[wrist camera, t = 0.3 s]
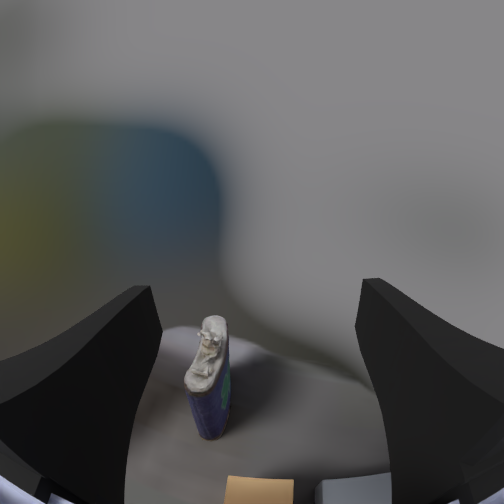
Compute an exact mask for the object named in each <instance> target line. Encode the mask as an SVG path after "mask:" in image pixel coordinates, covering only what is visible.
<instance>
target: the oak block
mask: <svg viewBox="0 0 504 504" xmlns="http://www.w3.org/2000/svg"><path fill="white" fill-rule="evenodd" d="M293 485H294V480H289V479H261V478H247V477H237V476H228V480H227V487H226V494H225V500H224V504H293Z"/></svg>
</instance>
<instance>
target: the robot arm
mask: <svg viewBox="0 0 504 504" xmlns="http://www.w3.org/2000/svg"><path fill="white" fill-rule="evenodd" d="M355 330H356V334H357V339H358V343H359V347H360V351H361V354H362V357H363V359H364V362H365V365H366V368H367V370H368V373H369V376H370V378H371V381H372V384H373V387H374V390H375V392H376V395H377V398H378V401H379V404H380V408H381V411H382V416H383V421H384V426H385V431H386V437H387V444H388V451H389V459H390V470H391V486H392V504H504V349H502V348H500V347H497V346H495V345H492V344H490V343H488V342H485V341H483V340H481V339H478V338H476V337H474V336H472V335H470V334H468V333H466V332H464V331H462V330H460V329H459V328H457V327H455V326H453V325H451V324H449V323H448V322H446V321H445V320H443V319H441V318H440V317H438V316H437V315H435V314H433V313H432V312H430V311H429V310H427V309H425V308H424V307H423V306H421V305H420V304H418V303H417V302H415V301H414V300H412V299H411V298H409V297H408V296H407V295H405V294H404V293H402V292H401V291H399V290H398V289H396V288H395V287H393V286H392V285H390V284H389V283H387V282H386V281H384V280H382V279H380V278H371V279H363V282H362V288H361V295H360V301H359V307H358V313H357V318H356V323H355ZM162 333H163V331H162V327H161V324H160V320H159V317H158V313H157V310H156V306H155V303H154V299H153V295H152V291H151V287H150V286H133V287H131V288H129V289H128V290H126V291H124V292H123V293H122V294H120V295H118V296H117V297H115V298H114V299H113V300H111V301H110V302H108V303H107V304H105V305H104V306H102V307H101V308H100V309H98V310H97V311H95V312H94V313H92V314H91V315H89V316H88V317H86V318H85V319H83V320H82V321H80V322H79V323H77V324H76V325H74V326H73V327H71V328H70V329H68V330H66V331H65V332H63V333H61V334H60V335H58V336H56V337H54V338H52V339H51V340H49V341H47V342H45V343H43V344H41V345H39V346H37V347H35V348H32V349H30V350H28V351H26V352H23V353H21V354H19V355H16V356H14V357H11V358H8V359H5V360H2V361H0V504H124V490H125V474H126V464H127V456H128V449H129V443H130V437H131V432H132V428H133V423H134V419H135V414H136V411H137V408H138V405H139V402H140V399H141V397H142V394H143V391H144V389H145V386H146V383H147V381H148V378H149V376H150V373H151V370H152V368H153V365H154V363H155V360H156V357H157V354H158V350H159V346H160V342H161V337H162Z"/></svg>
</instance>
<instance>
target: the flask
mask: <svg viewBox="0 0 504 504" xmlns="http://www.w3.org/2000/svg"><path fill="white" fill-rule="evenodd" d="M200 335H201V340H200V342H199V347H198V351H197V354H196V357H195V359H194V361H193V364H192V365H191V366H190V369H189V370H188V371H187V372H186V375H185V377H184V387H185V391H186V395H187V397H188V401H189V404H190V407H191V409H192V414H193V417H194V420H195V423H196V425H197V429H198V433H199V435H200V437H201V438H202V440H207V441H214V440H217V439H218V438H219V437H221V434H222V433H223V432H224V430H225V426H226V423H227V421H228V417H229V411H230V407H231V406H230V399H231V398H230V397H231V379H230V364H229V336H228V324H227V322H226V320H225V319H224V318H222V317H220V316H217V315H215V316H209V317H206V318H205V319H204V320H203V323H202V324H201V331H200V332H199V333H198V336H200Z"/></svg>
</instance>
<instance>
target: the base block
mask: <svg viewBox="0 0 504 504" xmlns="http://www.w3.org/2000/svg"><path fill="white" fill-rule="evenodd" d="M315 504H392V486H391V472H389V473H383V474H376V475H370V476H362V477H354V478H343V479H331V480H322V481H321V482H320V483H319V484H318V485H317V486H316V488H315Z"/></svg>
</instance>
